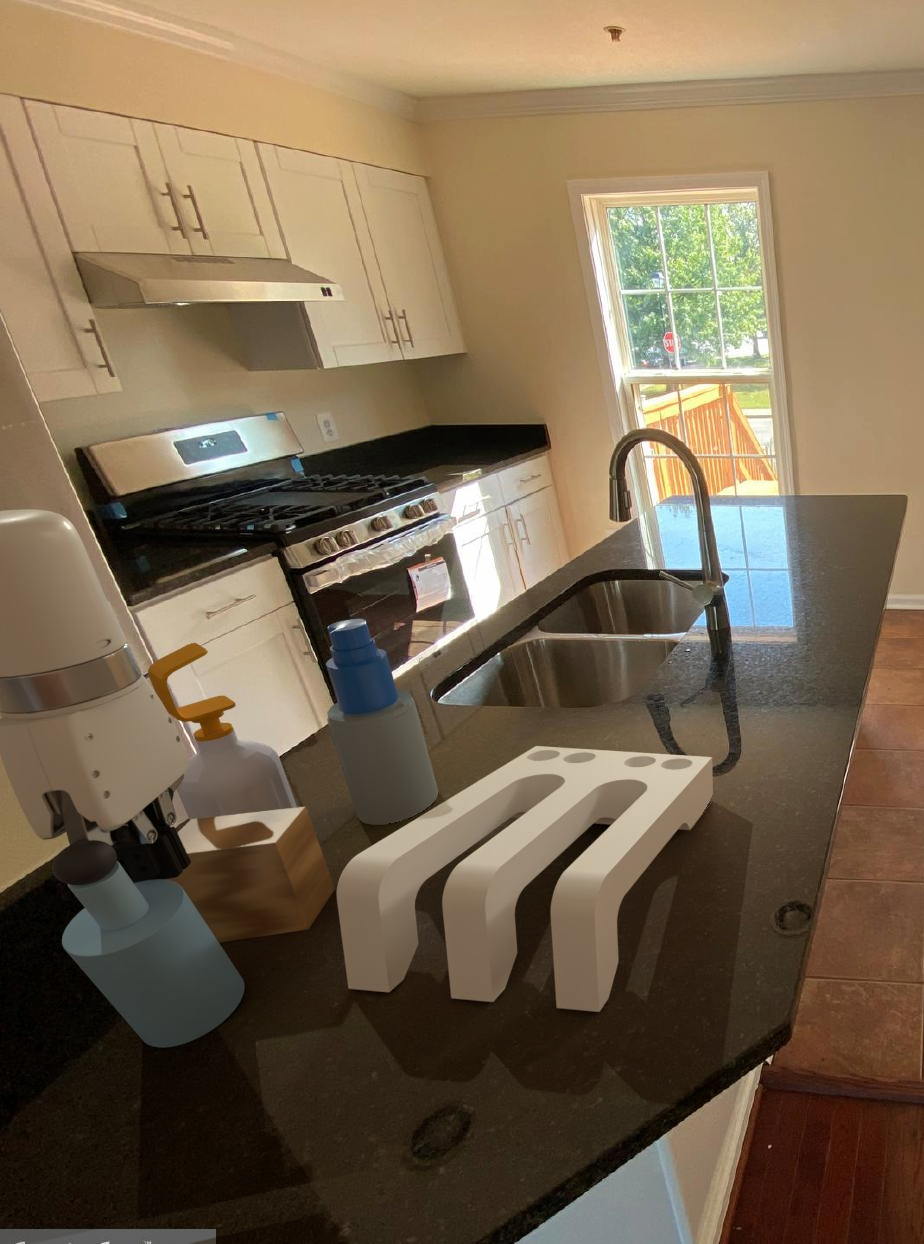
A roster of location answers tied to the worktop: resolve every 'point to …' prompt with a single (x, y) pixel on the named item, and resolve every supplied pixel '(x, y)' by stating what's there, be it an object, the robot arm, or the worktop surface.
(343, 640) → the spray bottle
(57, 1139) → the worktop surface
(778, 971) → the worktop surface
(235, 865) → the oak block
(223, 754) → the soap bottle
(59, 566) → the robot arm
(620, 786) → the bracket
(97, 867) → the bottle
